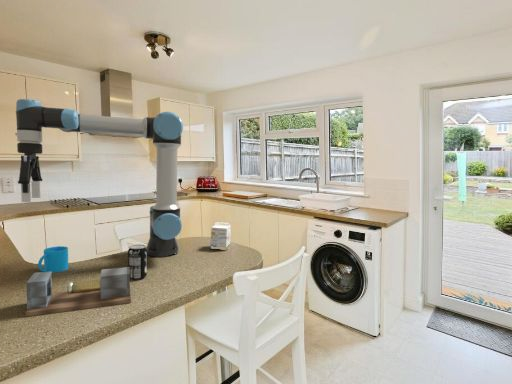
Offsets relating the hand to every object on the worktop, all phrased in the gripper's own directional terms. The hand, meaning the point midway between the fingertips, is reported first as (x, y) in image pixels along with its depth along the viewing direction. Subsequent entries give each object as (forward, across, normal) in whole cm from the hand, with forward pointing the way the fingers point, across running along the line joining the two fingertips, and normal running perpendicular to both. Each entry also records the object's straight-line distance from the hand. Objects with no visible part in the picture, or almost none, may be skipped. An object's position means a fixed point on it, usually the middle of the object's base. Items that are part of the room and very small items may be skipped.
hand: (31, 199), depth 118 cm
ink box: (+28, -13, +78) cm, 84 cm away
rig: (+28, +34, +21) cm, 49 cm away
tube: (+25, +34, +24) cm, 48 cm away
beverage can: (+28, +18, +37) cm, 49 cm away
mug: (+28, 0, +6) cm, 29 cm away
